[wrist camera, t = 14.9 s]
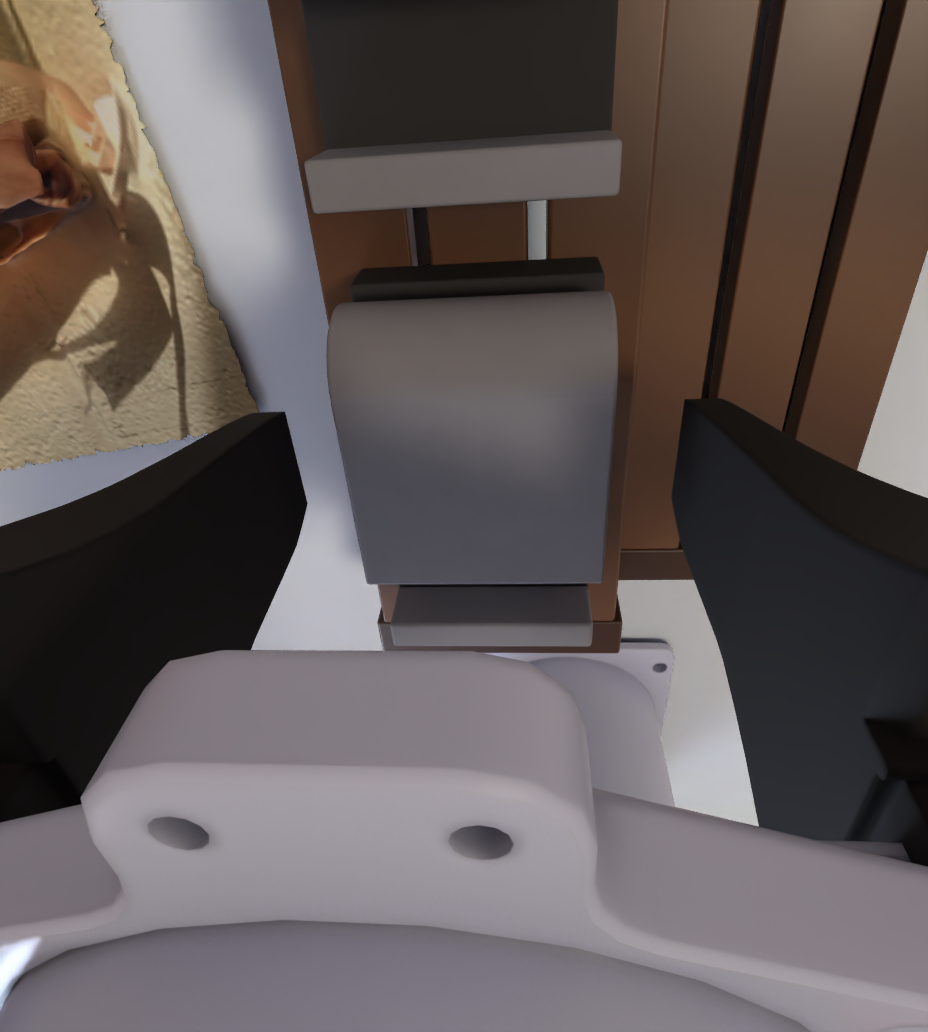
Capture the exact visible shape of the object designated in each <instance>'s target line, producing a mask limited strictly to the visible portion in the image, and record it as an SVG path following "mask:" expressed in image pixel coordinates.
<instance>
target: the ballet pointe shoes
mask: <svg viewBox="0 0 928 1032" xmlns="http://www.w3.org/2000/svg"><path fill="white" fill-rule="evenodd" d="M97 10H98V7H96V6H94V5H93V1H92V0H0V471H1V469H2V470H6V469H7V467H9V468H11V469H12V470H16V469H17V468H18V467H19V466H21V467H22V468H24V465H25V462H28V463H31V464H34V465H35V462H37V463H41V464H44V463H51V459H53V460H54V461H57V462H58V461H59V460H61V457H62V458H65V459H73V458H75V457H79V454H81V455H97V454H96V452H95V450H94V449H96V450H98V451H102V452H111V451H115V450H120V449H130V445H131V446H136V447H137V446H138V445H140V444H141V445H142V447H143V444H147V443H150V444H152V445H156V444H161V443H166V442H168V439H171V440H172V439H176V440H178V441H179V440H182V439H184V438H185V437H187V434H189V435H191V436H192V437H197V436H200V435H203V434H204V433H205V432H206V433H208V434H210V433H212V432H213V431H215V430H216V429H219V428H221V427H223V426H225V425H226V424H228V423H230V422H232V421H234V420H236V419H239V418H241V417H243V416H246V415H248V414H251V413H260V412H259V409H258V407H257V404H256V403H255V400H254V399H253V398H252V397H251V395H250V393H249V392H248V391H247V390H248V387H245V384H246V377H245V376H244V375H243V373H241V367H240V364H239V362H238V358H237V356H236V355H235V354H234V353H235V352H236V351H235V350H234V349H232V348H231V346H232V345H231V344H230V341H229V334H228V331H227V329H226V327H225V325H224V323H223V320H219V316H218V315H219V313H220V312H219V309H218V310H216V309H215V308H214V307H213V306H212V305H211V304H210V303H209V302H208V299H207V293H208V291H207V290H206V289H205V287H204V282H205V281H204V280H203V278H204V275H203V273H202V271H201V269H200V268H198V267H197V266H196V265H194V264H193V263H192V262H193V260H192V259H191V258H194V249H193V248H191V247H190V245H191V244H192V243H190V242H188V241H187V239H188V237H186V236H184V235H183V232H184V227H183V224H182V222H181V219H180V215H178V214H177V211H178V209H177V208H176V207H175V206H174V202H173V200H172V197H171V194H170V190H169V187H168V185H167V184H166V183H165V181H164V180H163V177H164V174H163V173H162V172H161V170H160V169H159V168H158V167H157V159H156V156H157V155H155V154H154V153H155V150H154V149H153V148H152V147H151V145H150V143H149V142H148V140H147V138H146V137H145V135H144V133H143V132H142V130H141V129H143V128H145V127H146V126H145V124H144V123H143V122H141V121H140V120H138V116H139V112H138V111H137V109H136V102H135V100H134V98H133V96H132V95H131V94H129V93H127V91H128V90H129V89H130V88H129V87H128V86H127V85H126V83H125V79H126V75H124V70H123V67H122V66H121V64H120V63H118V62H115V61H114V60H113V56H112V53H111V50H110V45H111V43H112V41H113V40H112V39H110V38H109V36H108V34H107V32H106V31H105V29H103V28H101V27H100V25H102V24H103V23H105V22H104V20H99V19H98V18H97V17H96V16H95V13H96V12H97ZM61 461H63V460H61Z"/></svg>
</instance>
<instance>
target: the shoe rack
mask: <svg viewBox="0 0 928 1032" xmlns="http://www.w3.org/2000/svg"><path fill="white" fill-rule="evenodd" d="M883 1H884V0H771V3H770V9H769V16H768V22H767V28H766V35H765V41H764V47H763V54H762V60H761V66H760V72H759V79H758V85H757V91H756V98H755V104H754V110H753V117H752V123H751V129H750V136H749V142H748V148H747V154H746V161H745V167H744V173H743V180H742V186H741V192H740V199H739V205H738V211H737V217H736V224H735V230H734V236H733V243H732V249H731V255H730V262H729V268H728V274H727V281H726V287H725V293H724V299H723V306H722V312H721V318H720V325H719V331H718V337H717V344H716V350H715V356H714V362H713V369H712V375H711V381H710V388H709V394H708V399H710V398H722V399H724V400H727V401H729V402H731V403H733V404H735V405H737V406H739V407H740V408H742V409H744V410H746V411H748V412H749V413H751V414H753V415H754V416H756V417H758V418H759V419H761V420H763V421H765V422H766V423H768V424H770V425H771V426H773V427H775V428H776V429H778V430H780V431H782V429H783V424H784V420H785V416H786V412H787V408H788V403H789V399H790V395H791V391H792V386H793V382H794V378H795V374H796V369H797V365H798V361H799V357H800V353H801V348H802V344H803V340H804V336H805V331H806V327H807V323H808V319H809V314H810V310H811V306H812V302H813V298H814V293H815V289H816V285H817V281H818V276H819V272H820V268H821V264H822V259H823V255H824V251H825V247H826V243H827V238H828V234H829V230H830V226H831V221H832V217H833V213H834V209H835V204H836V200H837V196H838V192H839V188H840V183H841V179H842V175H843V171H844V166H845V162H846V158H847V154H848V149H849V145H850V141H851V137H852V133H853V128H854V124H855V120H856V116H857V111H858V107H859V103H860V99H861V94H862V90H863V86H864V82H865V78H866V73H867V69H868V65H869V61H870V56H871V52H872V48H873V44H874V39H875V35H876V31H877V27H878V23H879V18H880V14H881V10H882V6H883ZM761 3H762V0H618V18H617V36H616V55H615V74H614V92H613V111H612V130H611V131H612V132H613V133H614V134H615V135H616V136H617V137H618V138H619V139H620V140H621V141H622V156H621V172H620V188H619V192H618V194H617V195H615V196H604V197H587V198H571V199H554V200H546V259H563V258H583V257H598V258H599V261H600V263H601V266H602V269H603V271H604V274H605V284H604V291H605V290H606V291H608V292H610V293H611V295H612V297H613V300H614V304H615V309H616V317H617V329H618V384H617V402H616V415H615V429H614V443H613V457H612V471H611V484H610V498H609V512H608V526H607V539H606V553H605V567H604V579H603V581H602V583H588V590H589V597H590V605H591V613H592V621H593V634H592V643H591V645H590V646H396V645H394V643H393V639H392V633H391V628H390V623H391V618H392V614H393V609H394V605H395V600H396V596H397V591H398V588H399V586H398V584H377V585H378V590H379V595H380V600H381V611H380V615H379V619H378V627H379V632H380V638H381V643H382V648H383V651H474V652H479V653H619V651H620V642H621V631H622V618H621V612H620V606H619V601H618V595H617V588H618V580H694V578H693V576H692V573H691V570H690V567H689V565H688V562H687V559H686V557H685V554H684V551H683V548H682V545H681V543H680V539H679V534H678V529H677V525H676V520H675V515H674V509H673V504H672V499H671V495H672V488H673V480H674V473H675V466H676V458H677V451H678V444H679V437H680V429H681V422H682V415H683V407H684V400H685V399H701V397H702V390H703V384H704V377H705V371H706V364H707V357H708V351H709V344H710V338H711V331H712V325H713V318H714V312H715V305H716V298H717V292H718V285H719V279H720V272H721V266H722V259H723V253H724V246H725V239H726V233H727V226H728V220H729V213H730V207H731V200H732V193H733V187H734V180H735V174H736V167H737V161H738V154H739V148H740V141H741V134H742V128H743V121H744V115H745V108H746V102H747V95H748V89H749V82H750V75H751V69H752V62H753V56H754V49H755V43H756V36H757V29H758V23H759V16H760V10H761ZM268 5H269V11H270V16H271V21H272V27H273V32H274V37H275V43H276V48H277V53H278V58H279V64H280V69H281V74H282V80H283V85H284V90H285V96H286V101H287V106H288V112H289V117H290V122H291V128H292V133H293V138H294V143H295V149H296V154H297V159H298V165H299V170H300V175H301V181H302V186H303V191H304V197H305V202H306V207H307V213H308V218H309V223H310V229H311V234H312V239H313V244H314V250H315V255H316V260H317V266H318V271H319V276H320V282H321V287H322V292H323V298H324V303H325V308H326V314H327V319H328V324H330V320H331V316H332V313H333V311H334V309H335V308H336V306H338V305H339V304H341V303H347V302H352V299H351V293H350V285H351V284H352V282H353V281H354V279H355V278H356V277H357V275H358V274H359V272H360V271H361V270H362V269H369V268H388V267H408V266H418V261H417V251H416V241H415V232H414V222H413V212H412V208H405V209H388V210H372V211H355V212H338V213H322V214H317V213H314V211H313V209H312V204H311V199H310V193H309V188H308V183H307V177H306V172H305V166H304V164H305V161H307V160H309V159H310V158H312V157H314V156H316V155H318V154H320V153H322V152H324V151H326V149H325V143H324V137H323V131H322V125H321V119H320V113H319V107H318V101H317V95H316V89H315V83H314V77H313V71H312V65H311V59H310V53H309V47H308V41H307V35H306V28H305V22H304V16H303V10H302V4H301V0H268ZM426 215H427V226H428V236H429V247H430V258H431V265H447V264H466V263H486V262H505V261H524V260H528V209H527V201H521V202H504V203H488V204H471V205H454V206H438V207H426ZM927 251H928V0H887V3H886V7H885V11H884V15H883V19H882V24H881V28H880V32H879V36H878V40H877V45H876V49H875V53H874V57H873V61H872V66H871V70H870V74H869V78H868V82H867V87H866V91H865V95H864V99H863V103H862V107H861V112H860V116H859V120H858V124H857V128H856V133H855V137H854V141H853V145H852V149H851V154H850V158H849V162H848V166H847V170H846V175H845V179H844V183H843V187H842V191H841V195H840V200H839V204H838V208H837V212H836V216H835V221H834V225H833V229H832V233H831V237H830V242H829V246H828V250H827V254H826V258H825V263H824V267H823V271H822V275H821V279H820V283H819V288H818V292H817V296H816V300H815V304H814V309H813V313H812V317H811V321H810V325H809V330H808V334H807V338H806V342H805V346H804V351H803V355H802V359H801V363H800V367H799V371H798V376H797V380H796V384H795V388H794V392H793V397H792V401H791V405H790V409H789V413H788V418H787V422H786V426H785V430H784V433H785V434H787V435H789V436H790V437H792V438H794V439H796V440H798V441H799V442H801V443H803V444H805V445H807V446H808V447H810V448H812V449H814V450H816V451H818V452H820V453H822V454H824V455H826V456H828V457H830V458H832V459H834V460H836V461H838V462H840V463H842V464H844V465H846V466H848V467H850V468H852V469H855V470H857V468H858V465H859V462H860V459H861V456H862V452H863V449H864V446H865V443H866V440H867V437H868V434H869V431H870V428H871V425H872V421H873V418H874V415H875V412H876V409H877V406H878V403H879V400H880V397H881V393H882V390H883V387H884V384H885V381H886V378H887V375H888V372H889V369H890V366H891V362H892V359H893V356H894V353H895V350H896V347H897V344H898V341H899V338H900V334H901V331H902V328H903V325H904V322H905V319H906V316H907V313H908V310H909V307H910V303H911V300H912V297H913V294H914V291H915V288H916V285H917V282H918V279H919V275H920V272H921V269H922V266H923V263H924V260H925V257H926V254H927Z"/></svg>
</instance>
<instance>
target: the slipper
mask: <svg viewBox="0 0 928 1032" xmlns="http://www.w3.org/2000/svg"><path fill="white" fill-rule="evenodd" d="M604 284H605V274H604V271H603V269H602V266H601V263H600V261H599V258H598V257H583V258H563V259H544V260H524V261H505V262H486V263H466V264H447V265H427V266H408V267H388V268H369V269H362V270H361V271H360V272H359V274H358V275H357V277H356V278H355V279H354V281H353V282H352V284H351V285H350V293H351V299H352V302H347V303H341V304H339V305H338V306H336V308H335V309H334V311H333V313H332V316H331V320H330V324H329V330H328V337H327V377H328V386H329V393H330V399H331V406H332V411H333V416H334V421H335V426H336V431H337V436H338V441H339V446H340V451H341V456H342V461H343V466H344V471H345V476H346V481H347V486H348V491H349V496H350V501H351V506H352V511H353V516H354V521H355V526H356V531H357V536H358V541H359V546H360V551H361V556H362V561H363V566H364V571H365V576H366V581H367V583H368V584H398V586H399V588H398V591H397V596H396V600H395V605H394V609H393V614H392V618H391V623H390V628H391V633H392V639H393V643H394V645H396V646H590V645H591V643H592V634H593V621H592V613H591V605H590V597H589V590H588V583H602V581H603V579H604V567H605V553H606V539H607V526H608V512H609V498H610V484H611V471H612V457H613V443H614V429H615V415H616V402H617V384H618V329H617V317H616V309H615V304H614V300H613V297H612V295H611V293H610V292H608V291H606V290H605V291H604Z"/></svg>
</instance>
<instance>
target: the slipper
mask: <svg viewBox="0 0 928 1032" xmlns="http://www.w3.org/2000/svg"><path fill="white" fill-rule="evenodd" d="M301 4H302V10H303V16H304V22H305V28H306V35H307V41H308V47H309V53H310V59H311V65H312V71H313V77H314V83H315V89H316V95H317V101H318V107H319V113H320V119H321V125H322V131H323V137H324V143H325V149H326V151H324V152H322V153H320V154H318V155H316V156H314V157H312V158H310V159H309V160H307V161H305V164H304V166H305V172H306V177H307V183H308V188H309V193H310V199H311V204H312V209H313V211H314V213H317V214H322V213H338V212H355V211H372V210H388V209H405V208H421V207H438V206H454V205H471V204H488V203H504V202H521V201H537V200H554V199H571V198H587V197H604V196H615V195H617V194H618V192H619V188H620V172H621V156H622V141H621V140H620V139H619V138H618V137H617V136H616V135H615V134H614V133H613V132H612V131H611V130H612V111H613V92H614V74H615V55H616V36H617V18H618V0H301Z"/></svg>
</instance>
